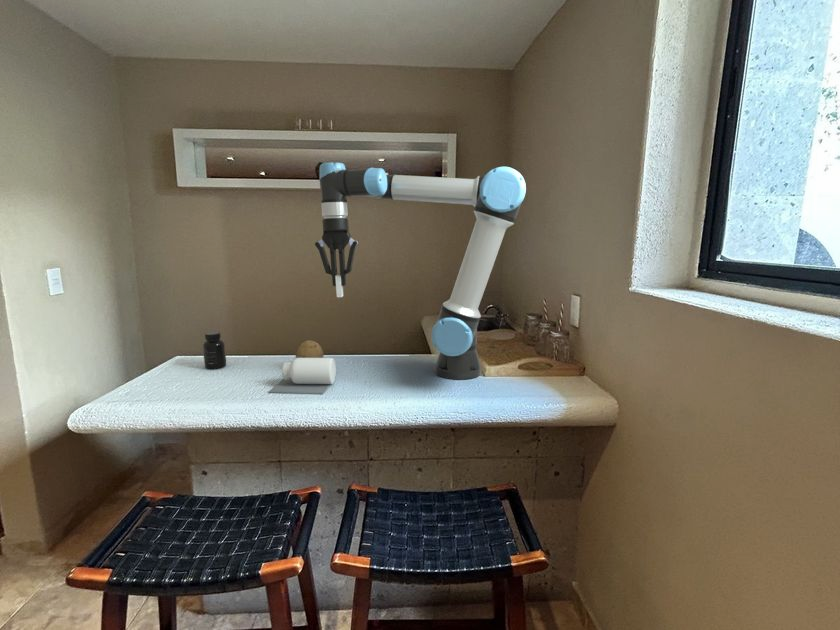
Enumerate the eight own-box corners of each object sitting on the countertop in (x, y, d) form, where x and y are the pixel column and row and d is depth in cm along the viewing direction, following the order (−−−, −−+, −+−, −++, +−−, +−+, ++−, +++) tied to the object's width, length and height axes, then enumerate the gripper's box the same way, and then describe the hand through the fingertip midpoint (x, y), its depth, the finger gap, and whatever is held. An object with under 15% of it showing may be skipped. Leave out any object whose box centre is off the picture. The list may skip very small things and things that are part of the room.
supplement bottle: (210, 363, 158) (208, 330, 156) (230, 364, 158) (227, 330, 156) (200, 369, 151) (197, 335, 149) (220, 370, 151) (217, 335, 149)
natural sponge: (290, 371, 150) (289, 342, 148) (305, 364, 158) (304, 336, 156) (314, 374, 147) (313, 344, 145) (328, 366, 155) (327, 338, 153)
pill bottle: (329, 374, 131) (278, 374, 131) (333, 389, 137) (285, 389, 137) (332, 352, 136) (283, 352, 136) (337, 367, 142) (290, 367, 142)
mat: (335, 378, 143) (335, 377, 143) (322, 394, 129) (322, 393, 129) (285, 377, 144) (285, 376, 144) (268, 393, 130) (268, 391, 130)
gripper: (359, 217, 137) (363, 294, 141) (316, 218, 137) (322, 295, 142) (354, 216, 130) (359, 297, 134) (310, 218, 130) (315, 298, 134)
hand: (340, 296), depth 138 cm, fingers closed
